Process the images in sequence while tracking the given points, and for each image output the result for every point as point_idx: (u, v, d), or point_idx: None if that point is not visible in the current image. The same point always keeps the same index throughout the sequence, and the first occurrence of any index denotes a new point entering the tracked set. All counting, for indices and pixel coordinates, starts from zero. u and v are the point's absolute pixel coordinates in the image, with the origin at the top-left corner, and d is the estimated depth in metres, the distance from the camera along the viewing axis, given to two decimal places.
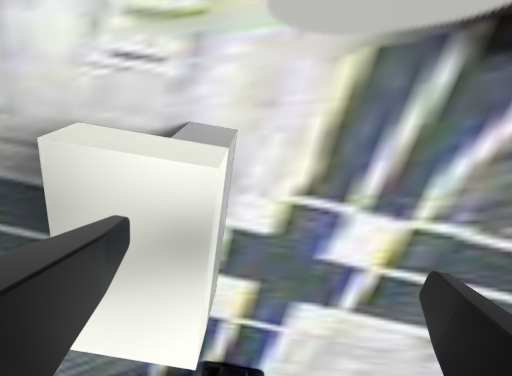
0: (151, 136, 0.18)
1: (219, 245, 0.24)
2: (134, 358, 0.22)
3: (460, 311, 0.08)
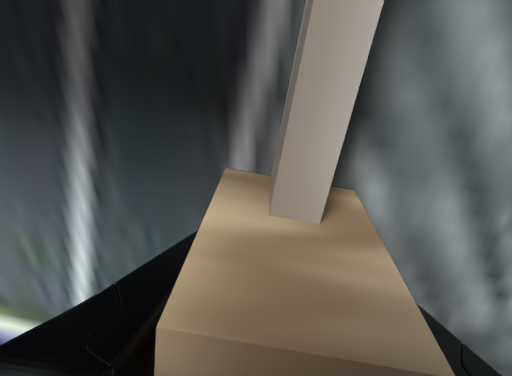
0: None
1: None
2: None
3: None
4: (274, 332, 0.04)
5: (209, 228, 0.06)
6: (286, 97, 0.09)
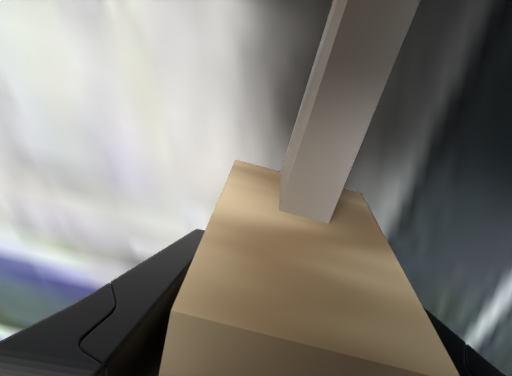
0: None
1: None
2: None
3: None
4: (287, 325, 0.04)
5: (221, 218, 0.06)
6: None
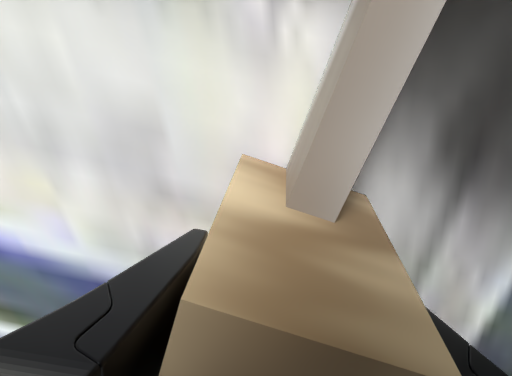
0: None
1: None
2: None
3: None
4: (295, 320, 0.04)
5: (228, 210, 0.06)
6: None
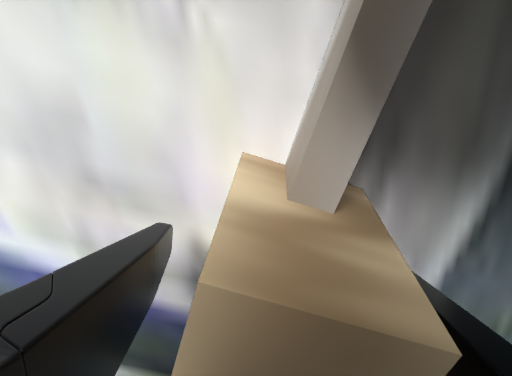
0: None
1: None
2: None
3: None
4: (303, 298, 0.05)
5: (234, 203, 0.07)
6: None
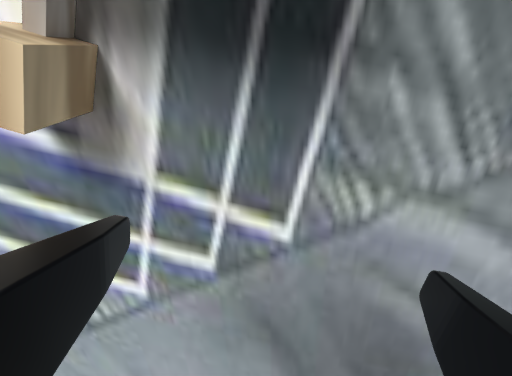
0: None
1: None
2: None
3: (460, 311, 0.08)
4: None
5: None
6: None
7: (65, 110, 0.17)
